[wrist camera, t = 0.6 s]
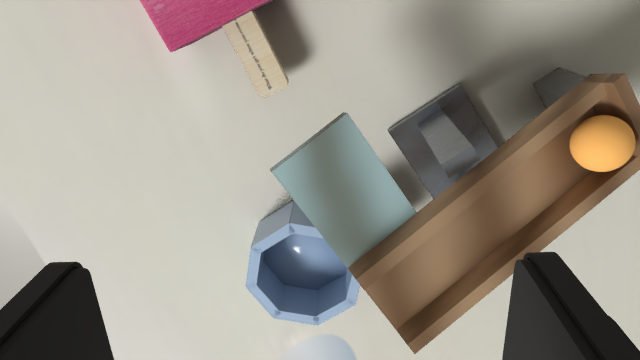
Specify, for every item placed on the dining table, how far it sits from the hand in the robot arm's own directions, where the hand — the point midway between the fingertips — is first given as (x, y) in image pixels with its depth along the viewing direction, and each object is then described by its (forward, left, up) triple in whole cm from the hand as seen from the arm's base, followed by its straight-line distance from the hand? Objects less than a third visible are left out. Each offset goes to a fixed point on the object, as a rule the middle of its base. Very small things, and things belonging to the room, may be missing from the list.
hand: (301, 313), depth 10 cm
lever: (-5, +7, -18) cm, 20 cm away
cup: (+9, +10, -26) cm, 29 cm away
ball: (-12, +10, -17) cm, 24 cm away
